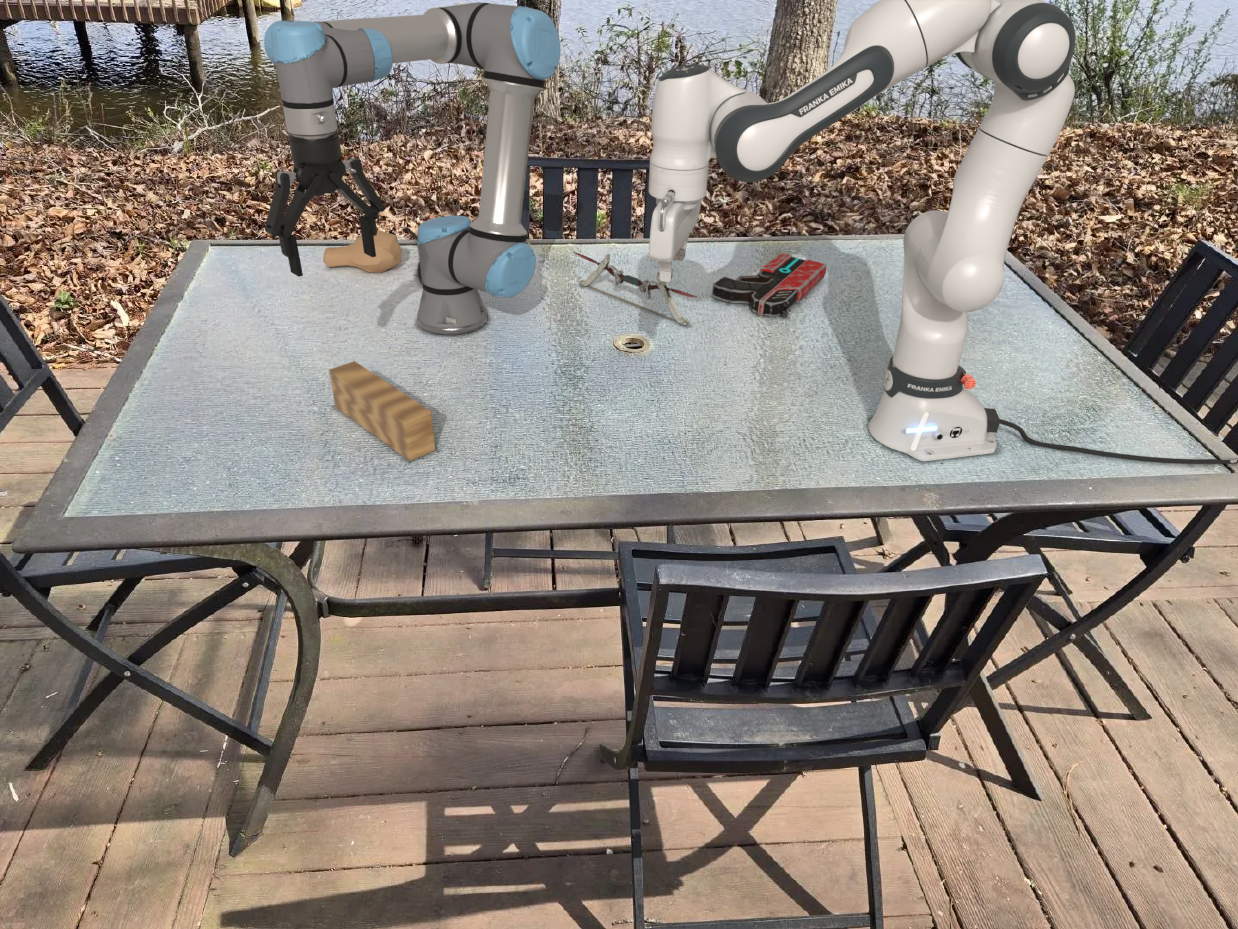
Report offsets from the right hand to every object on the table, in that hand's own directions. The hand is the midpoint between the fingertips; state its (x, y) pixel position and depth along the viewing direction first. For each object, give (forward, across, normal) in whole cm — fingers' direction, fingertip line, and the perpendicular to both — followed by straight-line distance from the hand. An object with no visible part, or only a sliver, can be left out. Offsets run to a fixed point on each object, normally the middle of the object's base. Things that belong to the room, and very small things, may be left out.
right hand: (672, 269), depth 140 cm
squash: (+32, +56, +91) cm, 112 cm away
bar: (+32, -12, +49) cm, 60 cm away
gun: (+32, +75, -10) cm, 82 cm away
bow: (+32, +56, +21) cm, 68 cm away
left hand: (+4, -8, +57) cm, 57 cm away
